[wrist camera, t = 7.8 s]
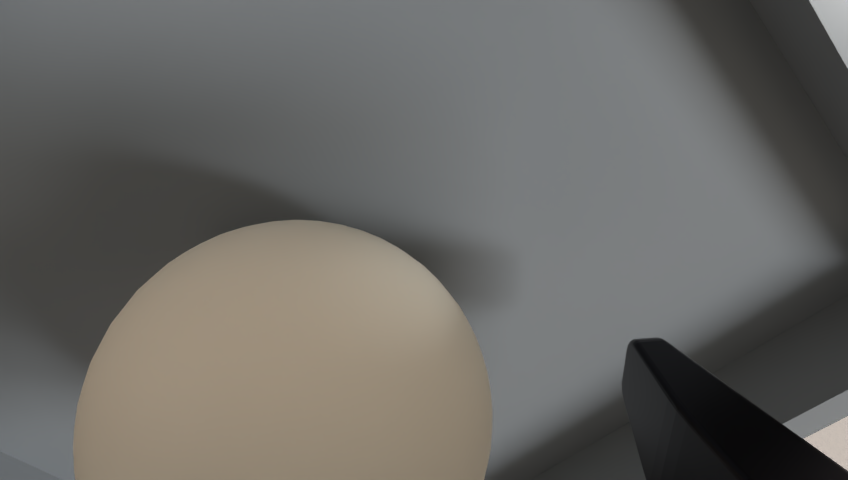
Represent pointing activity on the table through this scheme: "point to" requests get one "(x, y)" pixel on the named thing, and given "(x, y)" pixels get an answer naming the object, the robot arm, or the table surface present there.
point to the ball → (287, 367)
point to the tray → (445, 189)
